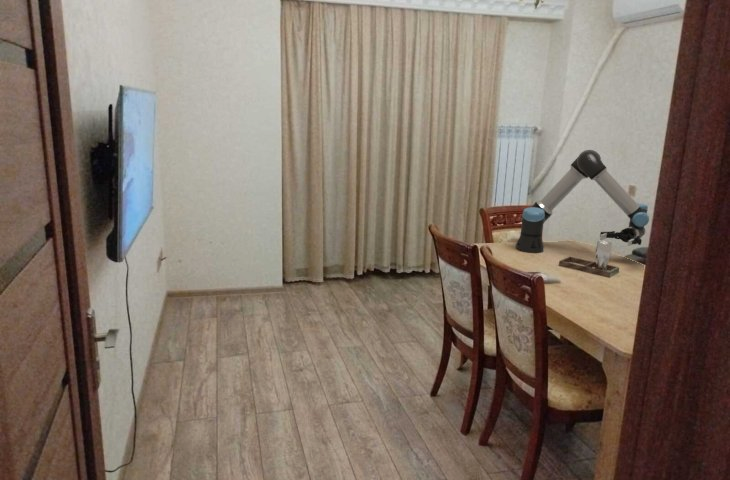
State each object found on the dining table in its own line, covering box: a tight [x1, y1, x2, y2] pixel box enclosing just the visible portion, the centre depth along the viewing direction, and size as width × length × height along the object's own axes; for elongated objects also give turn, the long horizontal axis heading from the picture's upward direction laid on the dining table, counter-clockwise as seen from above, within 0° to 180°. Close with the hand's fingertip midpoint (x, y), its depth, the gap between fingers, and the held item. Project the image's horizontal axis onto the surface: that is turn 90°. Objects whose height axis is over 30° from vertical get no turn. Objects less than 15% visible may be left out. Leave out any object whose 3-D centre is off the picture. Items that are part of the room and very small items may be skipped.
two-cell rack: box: [558, 256, 620, 278], centre depth 258 cm, size 25×13×2 cm, turn 46°
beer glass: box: [594, 240, 613, 271], centre depth 253 cm, size 7×7×15 cm
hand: (614, 240), depth 259 cm, fingers open, 13 cm apart
